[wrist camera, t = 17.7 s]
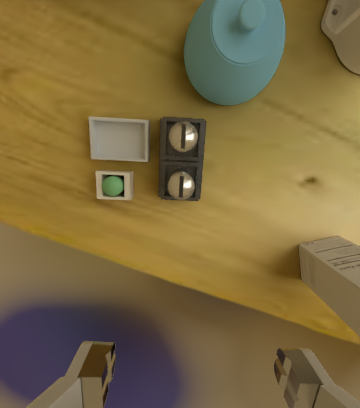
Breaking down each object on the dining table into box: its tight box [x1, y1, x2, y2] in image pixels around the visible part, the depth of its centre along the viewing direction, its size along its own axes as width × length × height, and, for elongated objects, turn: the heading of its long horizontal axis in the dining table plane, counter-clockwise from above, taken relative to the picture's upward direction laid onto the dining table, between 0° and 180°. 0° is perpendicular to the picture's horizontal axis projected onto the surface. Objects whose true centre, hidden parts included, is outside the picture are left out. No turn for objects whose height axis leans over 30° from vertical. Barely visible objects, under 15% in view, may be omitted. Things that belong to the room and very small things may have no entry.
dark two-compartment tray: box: [159, 117, 206, 201], centre depth 35 cm, size 14×8×4 cm, turn 177°
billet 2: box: [168, 169, 195, 200], centre depth 33 cm, size 4×4×8 cm
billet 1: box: [169, 121, 198, 152], centre depth 31 cm, size 4×4×8 cm
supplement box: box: [299, 236, 360, 337], centre depth 35 cm, size 9×9×15 cm
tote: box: [89, 117, 150, 162], centre depth 35 cm, size 7×10×2 cm
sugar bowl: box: [184, 0, 286, 106], centre depth 28 cm, size 15×15×12 cm
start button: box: [102, 175, 124, 196], centre depth 36 cm, size 3×3×3 cm
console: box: [96, 170, 134, 200], centre depth 37 cm, size 5×6×3 cm
